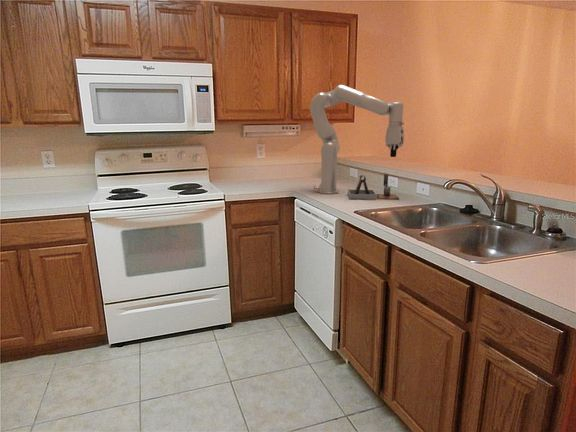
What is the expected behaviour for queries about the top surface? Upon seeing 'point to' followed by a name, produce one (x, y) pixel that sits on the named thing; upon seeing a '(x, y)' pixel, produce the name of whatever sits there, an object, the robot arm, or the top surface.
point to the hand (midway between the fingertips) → (393, 156)
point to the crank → (386, 186)
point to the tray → (362, 195)
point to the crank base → (388, 197)
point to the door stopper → (360, 185)
